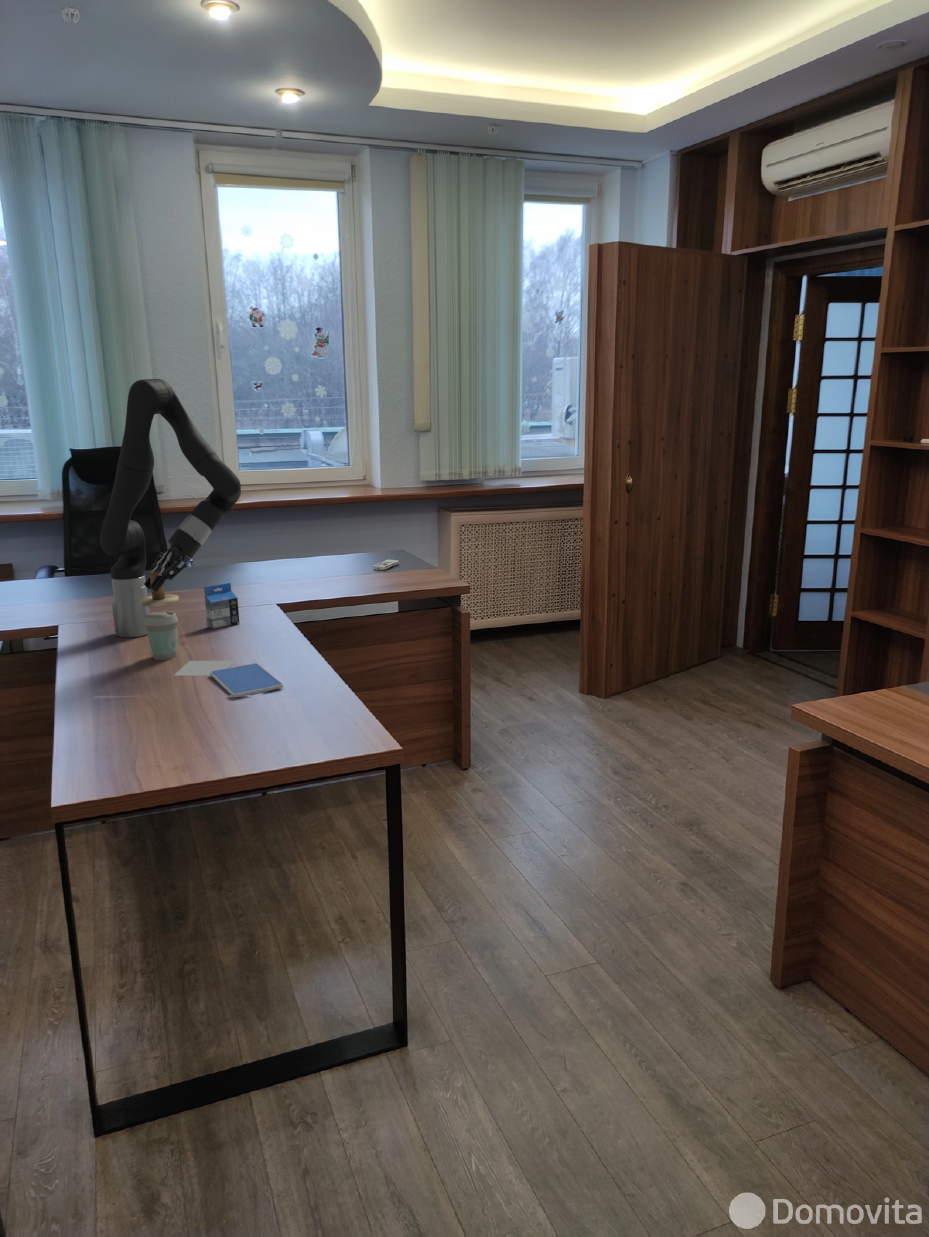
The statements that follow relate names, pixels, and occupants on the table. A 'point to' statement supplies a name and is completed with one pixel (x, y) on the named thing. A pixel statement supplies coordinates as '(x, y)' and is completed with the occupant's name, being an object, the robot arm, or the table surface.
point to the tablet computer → (246, 680)
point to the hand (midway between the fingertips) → (150, 588)
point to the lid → (158, 595)
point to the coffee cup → (162, 634)
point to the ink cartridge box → (221, 606)
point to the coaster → (202, 668)
